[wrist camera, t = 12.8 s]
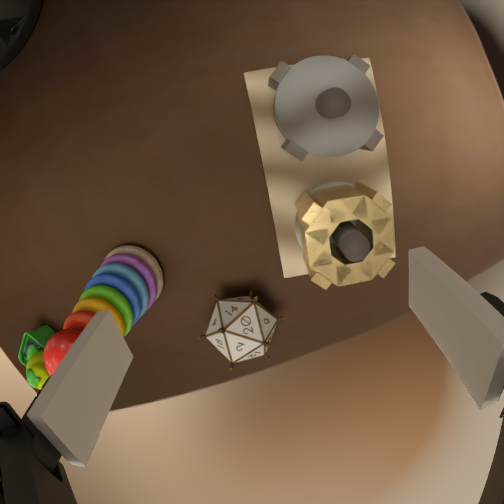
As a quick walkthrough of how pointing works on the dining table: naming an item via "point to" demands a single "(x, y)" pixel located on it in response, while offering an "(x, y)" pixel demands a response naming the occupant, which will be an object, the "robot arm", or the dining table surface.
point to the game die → (241, 328)
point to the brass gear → (326, 221)
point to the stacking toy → (110, 298)
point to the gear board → (307, 170)
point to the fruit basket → (35, 355)
